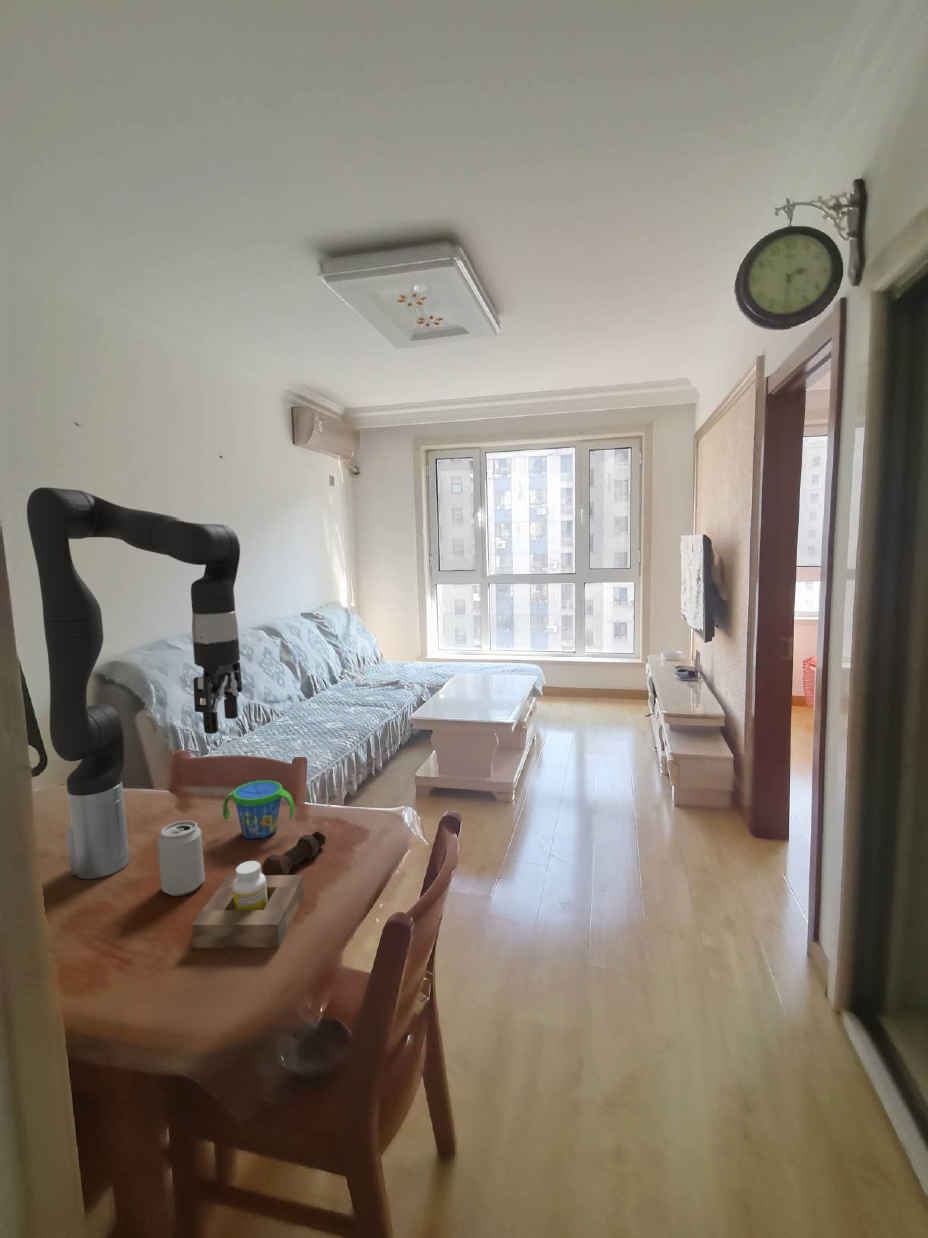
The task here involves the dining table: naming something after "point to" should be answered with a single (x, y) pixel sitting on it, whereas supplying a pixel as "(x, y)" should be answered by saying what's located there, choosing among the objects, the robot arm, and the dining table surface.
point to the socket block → (249, 916)
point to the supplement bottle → (250, 887)
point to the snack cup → (258, 807)
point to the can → (181, 858)
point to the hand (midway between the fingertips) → (221, 725)
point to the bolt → (294, 855)
